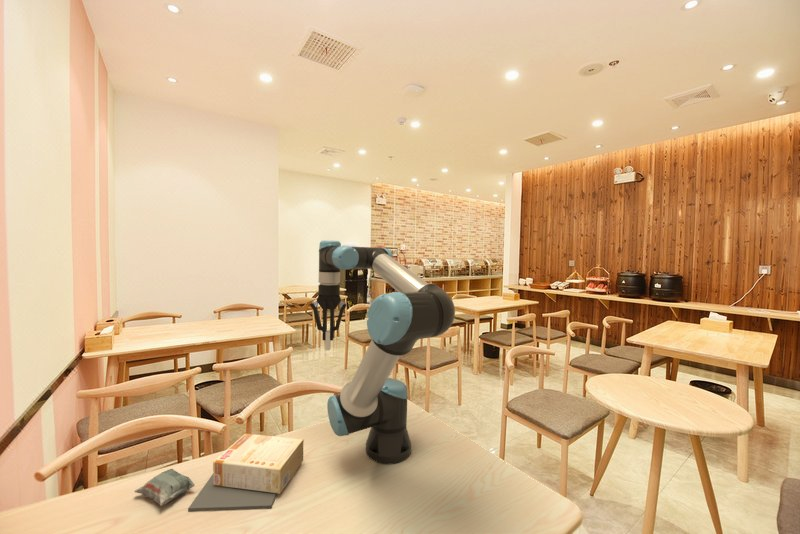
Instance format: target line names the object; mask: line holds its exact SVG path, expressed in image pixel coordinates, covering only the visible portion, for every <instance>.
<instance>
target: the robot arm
mask: <svg viewBox="0 0 800 534" xmlns="http://www.w3.org/2000/svg"><path fill="white" fill-rule="evenodd" d="M351 269H352V270H355V269H356V270H357V269H358V270H362V269H363V270H371V271H373V272H374V273H375V274H377V276H379V277H380V278H381V279H382V280H384V282H386V283H387V284H388V285H389V286H391V288H393V289H394V290H395V291H393V292H389V293H383V294H380V295H378V296H377V297H375V298H374V299H373V301H372V302H371V303H370V306H369V307H368V311H367V320H366V329H367V332H368V335H369V337H370V339H371V340H370V343H369V345H368V346H367V349H366V351H365V352H364V354H363V357H362V359H361V360H360V363H359V365H358V366H357V370H356V372H355V374H354V376H353V377H352V378H351V381H349V382H347V383H346V384H345V385H344V386H343V387H342V388H341V390H340V392H339V393H337V394H332V395H331V396H329V397H328V399H327V403H326V407H327V416H328V420H329V425H330V427H331V429H332V431H333V433H334V434H335V435H336V436H338V437H344V436H349V435H351V434H354V433H357V432H360V431H363V430H364V431H365V430H366V429H367V430H368V429H370V430H369V433H368V436H367V439H366V441H365V454H366V456H367V457H369V459H371V460H372V461H374V462H377V463H380V464H386V465H387V464H389V465H392V464H397V463H401V462H403V461H405V460H407V458H409V457H410V455H411V453H412V441H411V438H410V435H409V430H408V428H407V423H408V422H407V419H408V418H407V417H408V399H409V396H408V395H409V394H408V387H407V386H408V385H406V384H405V383H404V382H403V381H401V380H399V379H395V378H391V377H390V375H391V373H392V372H393V370H394V368H395V366H396V365H397V363H398V361H399V359H400V358H401V357H403V356H404V357H405V356H406V355H407V354H409V353H410V352H411V351H412V349H413V348H414V346H415V344H416V343H417V341H419V340H422V339H429V338H436V337H439V336H441V335H443V334H445V333H446V332H447V331H448V330H449V329H450V328H451V326H452V325H453V323H454V320H455V317H456V308H455V305H454V302H453V299H452V298H451V296H450V295H449V293H447V291H445V290H444V289H443V288H441V287H440V286H438V285H437V284H435V283H428V282H427V281H425V280H424V279H422V278H421V277H420V276H418V275H417V274H415V273H414V272H412V270H410V269H409V268H407V267H405V266H404V265H403V264H402V263H400V262H398V261H397V260H396V259H394V255H393V253H392V250H390V249H389V248H387V247H386V248H385V247H381V246H380V247H379V246H378V247H374V246H373V247H370V246H369V247H368V246H349V245H342V243H341V241H339V240H329V239H327V240H321V241H320V242H319V247H318V283H319V284H318V291H317V293H318V296H317V298H316V300H315V301H313V302H311V303H310V305H309V306H310V307H311V309H312V311H313V315H314V320H315V324H316V329H317V331H321V332H322V337H321V338H322V341H325V348H324V350H325V351H330V350H331V341H334V338H335V331H338V330H339V328H340V325H341V321H342V319H343V314H344V311H345V309H346V308H347V305H348V304H347V302H344V301H342V298H341V286H340V284H339V283H341V270H342V271H343V270H351ZM319 306H320V308H321V310H322V322H321V317H320V311H319V309H318V307H319ZM338 306H339V308H340V309H339V313H338V316H337V320H336V322H335V310H336V308H337V307H338ZM328 310H329V330H328V328H327V327H328Z"/></svg>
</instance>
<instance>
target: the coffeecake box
mask: <svg viewBox="0 0 800 534" xmlns="http://www.w3.org/2000/svg"><path fill="white" fill-rule="evenodd" d="M303 461H304V439H302V438H291V437H284V436H283V437H282V436H273V435H264V434H255V433H244V434H242V435H241V436H240V437H239V438H238V439H237V440H235V442H234V443H233V444H231V445H230V446H229V447H228V448H227V449H226V450H224V451H223V453H221V454H220V455H219V456H218V457H216V459H215V460H213V463H212V471H213V473H212V474H213V485H216V486H225V487H232V488H240V489H248V490H256V491H264V492H272V493H277V494H281V493H282V491H283V490H284V488H285V487H286V486H287V484H288V483H289V482H290V480H291V479H292V477H293V476H294V474H295V472H297V470H298V469H299V467H301V464H302V463H303Z"/></svg>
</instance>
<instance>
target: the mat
mask: <svg viewBox="0 0 800 534" xmlns="http://www.w3.org/2000/svg"><path fill="white" fill-rule="evenodd" d="M277 494H278V493H272V492H264V491H256V490H248V489H240V488H232V487H225V486H216V485H213V473H212V474H211V476H210V477H209V478H208V480H207V481H206V482H205V484H204V486H203V487H202V488H201V489H200V491H199V492H198V494H197V495H196V497H195V498H194V499H193V501H192V503H191V504H190V505H189V507H188V508H187V512H189V513H190V512H208V511H209V512H212V511H238V510H242V511H243V510H261V509H262V510H264V509H265V510H267V509H272V507H273V505H274V502H275V499H276V497H277Z"/></svg>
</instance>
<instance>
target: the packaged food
mask: <svg viewBox="0 0 800 534" xmlns="http://www.w3.org/2000/svg"><path fill="white" fill-rule="evenodd" d="M194 487H195V482H193V480H192V479H191V478H190V477H189V476H187V475H184V474H181V473H180V472H178V471H176V470H175V469H174V468H170V469H167V470H164V471H163V472H161V473H158V474H157V475H155V476H154V477H152V478H151V479H150V480H148V481H147V482H146V483H144V485H142V486H140V487H139V488H137V489H135V490H134V491H133V492H134V493H137V494H141V496H145V497H147V498H150V499H151V500H154V501H155V502H156V503H157V504H159V505H160V507H162V506H163V505H166V504H167V503H169V502H170V501H172V500H174V499H176V498H177V497H179V496H180V495H182V494H184V493H186V492H188V491H189V490H191V489H192V488H194Z"/></svg>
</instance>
